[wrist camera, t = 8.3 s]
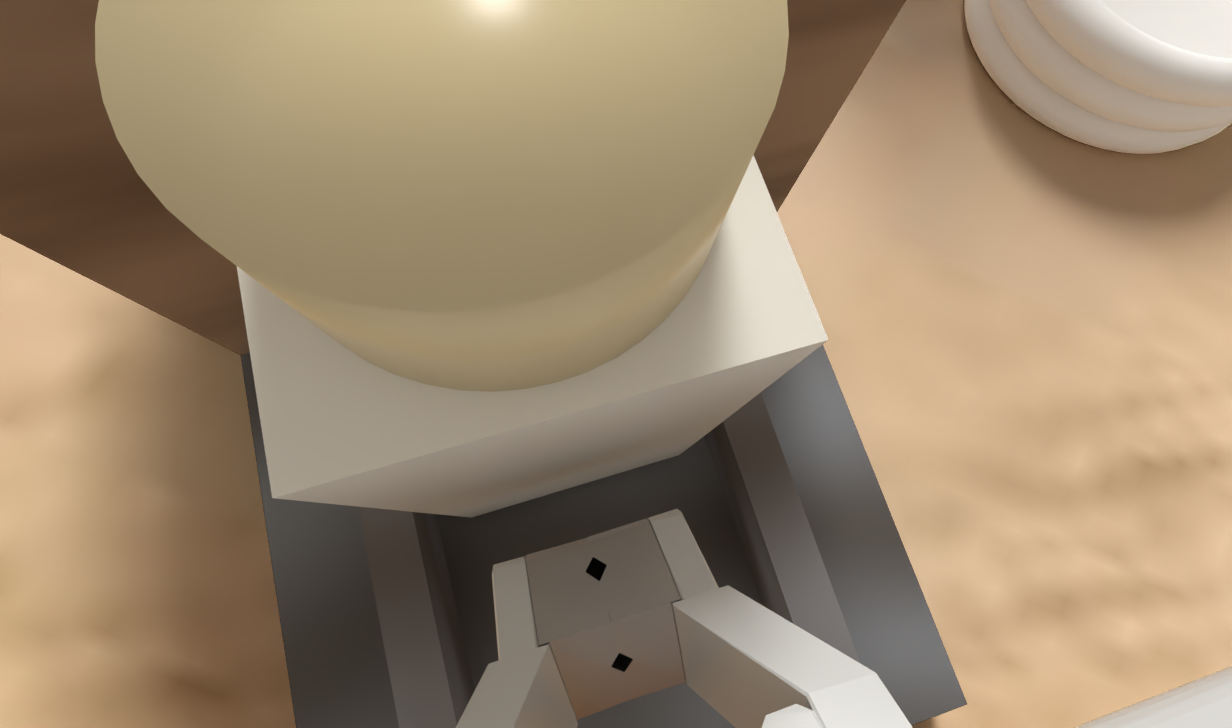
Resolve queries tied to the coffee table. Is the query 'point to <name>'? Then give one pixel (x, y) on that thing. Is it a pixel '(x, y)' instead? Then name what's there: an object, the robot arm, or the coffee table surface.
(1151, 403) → the coffee table surface
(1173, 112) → the coaster
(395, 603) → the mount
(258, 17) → the knob
